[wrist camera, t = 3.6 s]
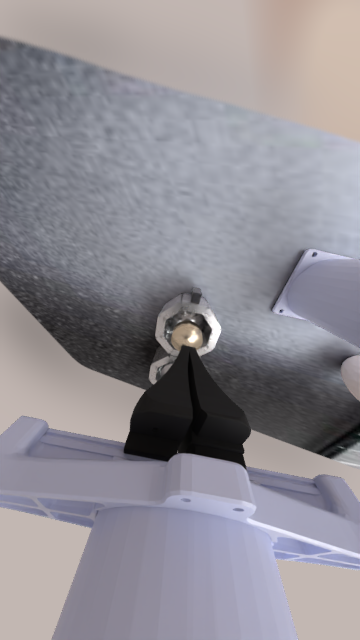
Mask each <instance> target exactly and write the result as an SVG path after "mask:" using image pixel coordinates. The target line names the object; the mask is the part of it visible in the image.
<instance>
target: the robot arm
mask: <svg viewBox="0 0 360 640" xmlns="http://www.w3.org/2000/svg"><path fill="white" fill-rule="evenodd" d="M313 253H314V256H313V257H312V254H313ZM281 309H282V310H281ZM280 310H281V311H280ZM272 311H273V312H274V313H276V314H280V315H284V316H289V317H293V318H298V319H302V320H307V321H310V322H312V323H313V324H315V325H317V326H319V327H321V328H323V329H325V330H327V331H329V332H330V333H332V334H334V335H336V336H338V337H340V338H342V339H344V340H346V341H347V342H349V343H351V344H353V345H355V346H357V347H359V348H360V259H354V258H350V257H345V256H341V255H337V254H333V253H329V252H324V251H320V250H316V249H307V250H306V251H305V252H304V253H303V255H302V257H301V259H300V260H299V262H298V264H297V266H296V268H295V269H294V271H293V273H292V275H291V277H290V278H289V280H288V282H287V284H286V286H285V287H284V289H283V291H282V293H281V295H280V297H279V298H278V300H277V302H276V304H275V306H274V307H273V309H272ZM279 311H280V312H279ZM250 433H251V429H250V426H249V423H248V420H247V418H246V415H245V413H244V411H243V410H242V409H241V408H239V407H238V406H237V405H236V404H235V403H234V402H233V401H232V400H231V399H230V398H229V397H228V396H227V395H226V394H225V393H224V392H223V391H222V390H221V389H220V388H219V386H218V385H217V384H216V383H215V382H214V380H213V379H212V378H211V376H210V375H209V373H208V372H207V370H206V368H205V367H204V365H203V363H202V361H201V359H200V357H199V355H198V353H197V350H196V348H195V347H190V346H185V345H182V346H181V349H180V352H179V354H178V356H177V358H176V360H175V361H174V363H173V364H172V366H171V367H170V368H169V370H168V371H167V372H166V373H165V374H164V375H163V376H162V377H161V378H160V379H159V380H158V381H157V382H156V383H155V384H154V385H153V386H151V387H150V388H149V389H148V390H146V391H145V392H144V394H143V395H142V396H141V398H140V399H139V401H138V403H137V405H136V406H135V408H134V411H133V414H132V417H131V420H130V432H129V435H128V438H127V440H126V443H122V442H117V441H112V440H107V439H101V438H96V437H91V436H86V435H81V434H76V433H71V432H66V431H60V430H55V429H50V428H48V424H47V422H46V421H44V420H42V419H37V418H32V417H27V416H21V417H20V418H19V419H17V421H15V422H14V423H13V424H12V425H11V426H10V427H9V428H8V429H7V430H6V431H5V432H4V433H3V434H1V435H0V507H3V508H7V509H12V510H17V511H21V512H26V513H30V514H34V515H39V516H43V517H47V518H51V519H55V520H59V521H63V522H68V523H72V524H76V525H80V526H84V527H89V528H92V530H91V533H90V535H89V538H88V541H87V544H86V547H85V549H84V552H83V555H82V557H81V560H80V563H79V566H78V568H77V571H76V574H75V577H74V580H73V582H72V585H71V588H70V590H69V594H68V596H67V599H66V601H65V604H64V607H63V610H62V612H61V615H60V618H59V621H58V624H57V626H56V629H55V632H54V635H53V637H52V640H298V637H297V633H296V630H295V626H294V623H293V619H292V616H291V612H290V609H289V605H288V601H287V598H286V595H285V591H284V587H283V584H282V580H281V577H280V573H279V570H278V566H277V563H276V559H280V560H289V561H296V562H305V563H313V564H320V565H328V566H335V567H342V568H347V569H353V570H360V502H359V501H358V499H357V497H356V496H355V495H354V493H353V492H352V490H351V489H350V487H349V486H348V485H347V483H346V482H345V480H344V479H342V478H341V477H335V476H330V475H318V476H316V477H315V478H314V479H309V478H303V477H298V476H293V475H288V474H283V473H278V472H272V471H267V470H262V469H257V468H251V467H247V466H246V465H245V461H244V457H243V454H244V448H243V445H242V444H243V443H244V442H245V441H246V439H247V438H248V437H249V435H250ZM177 451H178V453H177Z"/></svg>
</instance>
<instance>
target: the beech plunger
mask: <svg viewBox="0 0 360 640" xmlns="http://www.w3.org/2000/svg"><path fill="white" fill-rule="evenodd" d="M171 325H172V329H173V332H172V336H171V343H172V345H173V347H174V348H175V349H176V350H178V351H180V349H181V346H182V345H185V346H190V347H195V348H196V350H198V349H199V348H200V347H201V345H202V343H203V338H202V329H203V326H204V321H203V317H202V315H201V314H198V313H194V312H189V311H184V310H182V311H180V312H178V313H177V314H175V315H173V318H172V322H171Z"/></svg>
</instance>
